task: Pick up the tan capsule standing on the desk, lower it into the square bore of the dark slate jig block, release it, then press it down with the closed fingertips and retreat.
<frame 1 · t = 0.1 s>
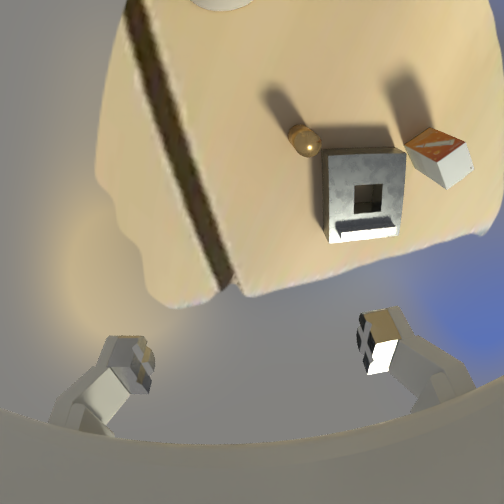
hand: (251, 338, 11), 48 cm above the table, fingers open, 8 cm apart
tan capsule: (299, 135, 52), on the table
small box: (421, 147, 53), on the table
jig: (359, 189, 58), on the table
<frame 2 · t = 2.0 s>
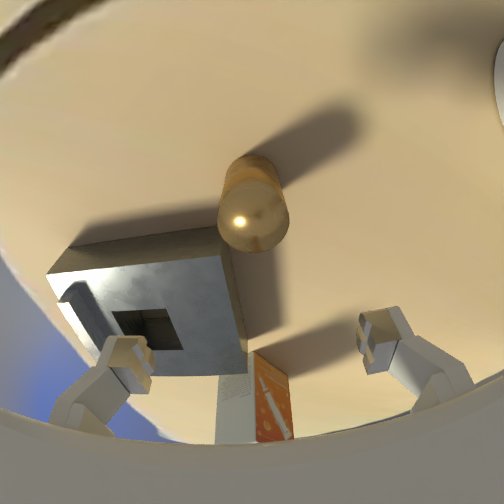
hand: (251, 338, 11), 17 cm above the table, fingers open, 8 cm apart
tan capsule: (251, 179, 25), on the table
small box: (254, 370, 40), on the table
jig: (158, 299, 32), on the table
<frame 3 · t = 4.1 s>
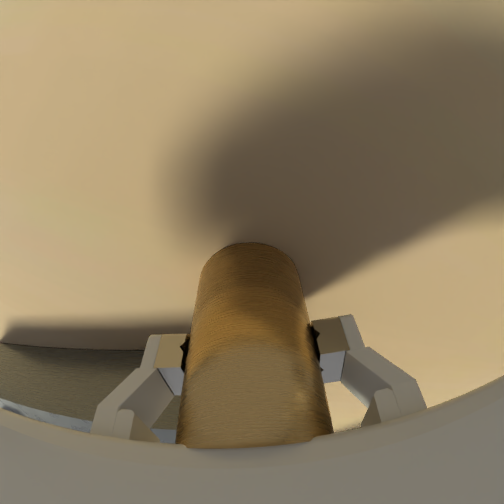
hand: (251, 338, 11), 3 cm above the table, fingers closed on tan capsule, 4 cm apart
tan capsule: (249, 285, 13), on the table, touching gripper
jig: (123, 410, 20), on the table
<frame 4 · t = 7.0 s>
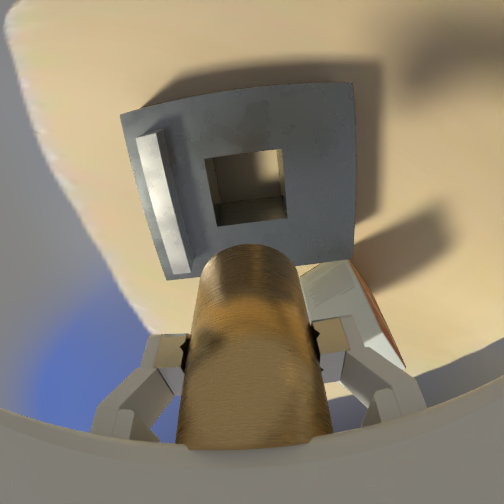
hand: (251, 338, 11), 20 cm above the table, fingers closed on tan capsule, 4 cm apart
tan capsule: (249, 286, 13), point 17 cm above the table, touching gripper
small box: (336, 282, 35), on the table
jig: (247, 171, 28), on the table
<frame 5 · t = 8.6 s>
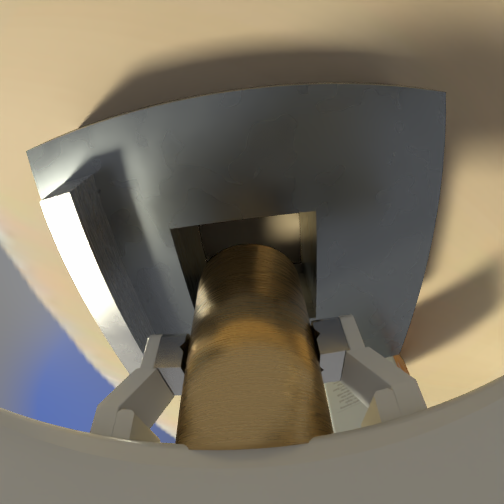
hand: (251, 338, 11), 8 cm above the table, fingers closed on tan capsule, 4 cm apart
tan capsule: (249, 286, 13), point 5 cm above the table, touching gripper
small box: (364, 357, 25), on the table
jig: (249, 227, 18), on the table
when the fingers open (6 cm above the table, at t = 9.8 s): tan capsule drops 3 cm, resting in jig.
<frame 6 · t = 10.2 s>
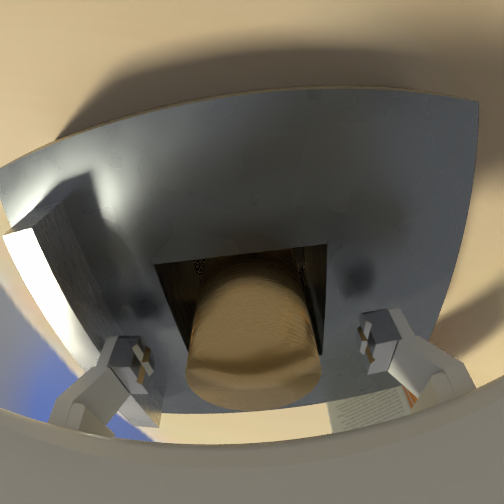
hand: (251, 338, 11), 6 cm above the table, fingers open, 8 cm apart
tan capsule: (249, 250, 16), resting in jig
small box: (369, 377, 23), on the table
jig: (247, 250, 16), on the table
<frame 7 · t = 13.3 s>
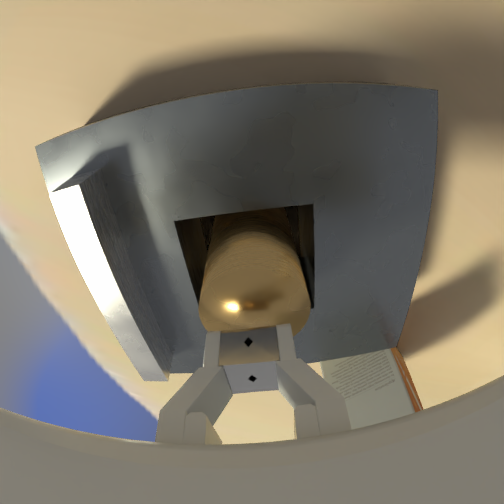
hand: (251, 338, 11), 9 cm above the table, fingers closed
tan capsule: (250, 221, 18), resting in jig
small box: (362, 351, 26), on the table
jig: (249, 221, 18), on the table
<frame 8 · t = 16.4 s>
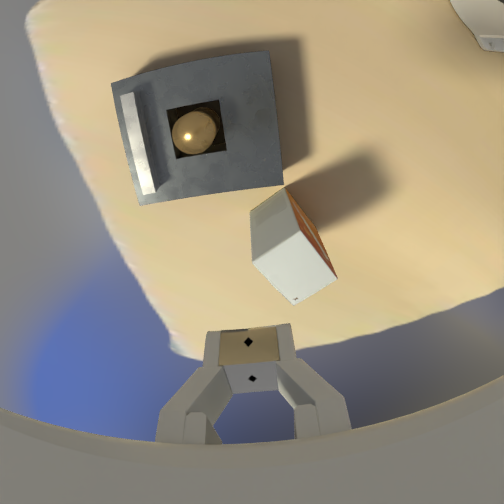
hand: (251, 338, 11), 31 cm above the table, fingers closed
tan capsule: (202, 123, 35), resting in jig
small box: (283, 218, 43), on the table
jig: (202, 123, 35), on the table
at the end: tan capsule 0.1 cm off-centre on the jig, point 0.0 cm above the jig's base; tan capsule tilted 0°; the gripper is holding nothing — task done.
